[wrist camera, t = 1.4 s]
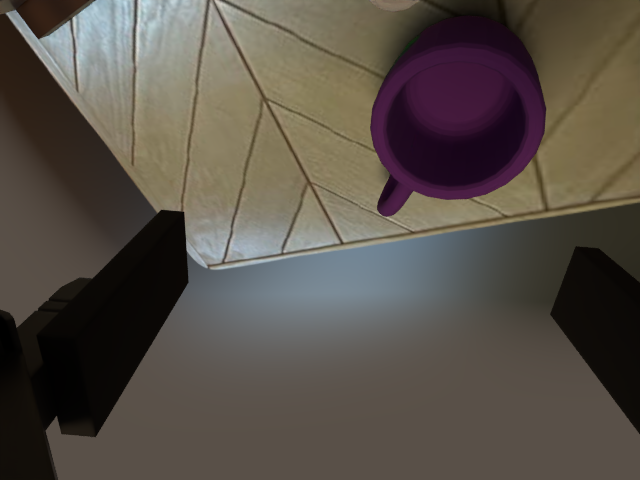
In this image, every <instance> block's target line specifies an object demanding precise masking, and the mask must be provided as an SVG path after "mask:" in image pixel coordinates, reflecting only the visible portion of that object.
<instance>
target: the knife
mask: <svg viewBox="0 0 640 480" xmlns="http://www.w3.org/2000/svg"><path fill="white" fill-rule="evenodd" d="M25 1H26V0H0V14H3V13H7V12H10V11H14V10H16V9H17V8H18V7H19V6H20V5H21V4H23V3H24V2H25Z"/></svg>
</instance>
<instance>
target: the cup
mask: <svg viewBox="0 0 640 480" xmlns="http://www.w3.org/2000/svg"><path fill="white" fill-rule="evenodd" d="M369 1H370V2H372V3H373V4H374V5H375V6H377V7H378V8H379V9H382V10H386V11H391V12H396V11H401V10H406V9H408V8H410V7H411V6H413V5H414V4H416V3H417V2H418V1H420V0H369Z"/></svg>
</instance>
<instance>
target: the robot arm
mask: <svg viewBox="0 0 640 480" xmlns="http://www.w3.org/2000/svg"><path fill="white" fill-rule="evenodd" d="M187 284H188V266H187V250H186V234H185V218H184V212H180V211H169V210H161V211H160V212H159V213H158V214H157V215H156V216H155V217H154V218H153V219H152V220H151V221H150V222H149V223H148V224H147V225H146V226H145V227H144V228H143V229H142V230H141V231H140V232H139V233H138V234H137V235H136V236H135V237H134V238H133V239H132V240H131V241H130V242H129V243H128V244H127V245H126V246H125V247H124V248H123V249H122V250H121V251H120V252H119V253H118V254H117V255H116V256H115V257H114V258H113V259H112V260H111V261H110V262H109V263H108V264H107V265H106V266H105V267H104V268H103V269H102V270H101V271H100V272H99V273H98V274H97V275H96V276H95V277H94V278H93V279H91V278H78V279H76V280H74V281H72V282H70V283H68V284H66V285H64V286H62V287H61V288H60V289H59V290H58V291H56V292H55V293H54V294H53V295H52V296H51V297H50V298H49V301H46V302H45V303H44V304H43V305H42V306H40V307H39V308H38V311H35V312H34V313H33V314H32V315H30V316H29V317H28V318H27V319H26V320H25V321H24V322H23V323H22V324H21V325H20V326H18V327H17V328H16V324H15V321H14V318H13V317H12V316H11V314H10V313H8V312H6V311H3V310H0V480H58V477H57V473H56V470H55V466H54V462H53V458H52V454H51V450H50V446H49V443H48V439H47V435H46V429H47V428H48V427H49V425H50V424H51V423H52V421H53V420H54V418H55V417H56V416H57V418H58V422H59V426H60V429H61V434H68V435H79V436H90V437H96V436H97V434H98V432H99V430H100V429H101V427H102V426H103V424H104V422H105V421H106V419H107V417H108V416H109V414H110V412H111V411H112V409H113V407H114V405H115V404H116V402H117V401H118V399H119V397H120V396H121V394H122V392H123V391H124V389H125V387H126V386H127V384H128V382H129V381H130V379H131V377H132V376H133V374H134V372H135V370H136V369H137V367H138V366H139V364H140V362H141V360H142V359H143V357H144V356H145V354H146V352H147V351H148V349H149V347H150V346H151V344H152V342H153V341H154V339H155V337H156V336H157V334H158V332H159V330H160V329H161V327H162V326H163V324H164V322H165V321H166V319H167V317H168V316H169V314H170V312H171V311H172V309H173V307H174V306H175V304H176V302H177V301H178V299H179V297H180V296H181V294H182V292H183V291H184V289H185V287H186V286H187ZM550 315H551V316H552V317H553V319H554V320H555V321H556V323H557V324H558V325H559V327H560V328H561V329H562V331H563V332H564V333H565V335H566V336H567V338H568V339H569V340H570V342H571V343H572V344H573V346H574V347H575V348H576V350H577V351H578V352H579V354H580V355H581V356H582V358H583V359H584V360H585V362H586V363H587V364H588V365H589V367H590V368H591V370H592V371H593V372H594V373H595V375H596V376H597V378H598V379H599V380H600V382H601V383H602V384H603V386H604V387H605V388H606V390H607V391H608V392H609V394H610V395H611V396H612V398H613V399H614V400H615V402H616V403H617V404H618V406H619V407H620V408H621V410H622V411H623V412H624V413H625V415H626V416H627V418H628V419H629V420H630V422H631V423H632V424H633V426H634V427H635V428H636V430H637V431H638V432H639V434H640V283H639V282H638V281H637V280H636V279H635V278H634V277H632V276H631V275H630V274H629V273H627V272H626V271H625V270H624V269H623V268H622V267H620V266H619V265H618V264H617V263H615V262H614V261H613V260H612V259H611V258H609V257H608V256H607V255H606V254H605V253H604V252H602V251H601V250H600V249H598V248H588V247H577V246H576V247H575V250H574V253H573V255H572V258H571V261H570V263H569V266H568V268H567V271H566V274H565V276H564V279H563V282H562V285H561V287H560V290H559V292H558V295H557V298H556V300H555V303H554V306H553V308H552V311H551V314H550Z"/></svg>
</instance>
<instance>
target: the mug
mask: <svg viewBox="0 0 640 480" xmlns="http://www.w3.org/2000/svg"><path fill="white" fill-rule="evenodd" d="M545 116H546V107H545V102H544V98H543V93H542V89H541V86H540V82H539V78H538V74H537V71H536V68H535V65H534V63H533V60H532V58H531V56H530V55H529V53H528V51H527V50H526V48H525V47H524V45H523V43H522V42H521V40H520V39H519V38H518V37H517V36H516V35H515V34H514V33H512V32H511V31H510V30H509V29H508V28H506V27H505V26H504V25H503V24H501V23H499V22H496V21H493V20H491V19H488V18H486V17H479V16H467V15H465V16H459V17H453V18H448V19H445V20H443V21H440V22H438V23H436V24H434V25H432V26H430V27H428V28H426V29H425V30H424V31H423V32H421V33H420V34H419V35H418V36H417V37H415V38H414V39H413V40H412V41H411V42H410V43H408V45H407V46H406V47H405V49H404V50H403V52H402V53H401V54H400V56H399V57H398V58H397V60H396V61H395V63H394V64H393V66H392V67H391V69H390V70H389V72H388V74H387V75H386V77H385V79H384V81H383V84H382V86H381V87H380V90H379V92H378V95H377V97H376V100H375V102H374V105H373V108H372V117H371V126H370V130H371V135H372V140H373V146H374V148H375V150H376V152H377V154H378V157H379V159H380V161H381V163H382V164H383V165H384V167H385V168H386V169H387V170H388V171H389V172H390V174H391V175H390V177H389V179H388V181H387V183H386V185H385V187H384V189H383V191H382V194H381V196H380V198H379V201H378V205H377V210H378V212H379V213H380V214H381V215H382V216H385V217H387V216H392V215H394V214H395V213H396V212H398V211H399V210H400V209H401V207H402V206H403V205H404V203H405V202H406V201H407V199H408V198H409V196H410V195H411V193H412V192H413V191H415V192H418V193H420V194H422V195H425V196H428V197H434V198H440V199H445V200H451V199H469V198H473V197H477V196H481V195H485V194H488V193H490V192H492V191H494V190H496V189H498V188H500V187H502V186H504V185H506V184H507V183H508V182H509V181H511V180H512V179H513V178H514V177H516V176H517V175H518V174H519V173H520V172H522V171H523V170H524V168H525V167H526V166H527V164H528V163H529V162H530V160H531V159H532V158H533V157H534V155H535V154H536V152H537V150H538V147H539V145H540V142H541V140H542V137H543V135H544V131H545Z"/></svg>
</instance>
